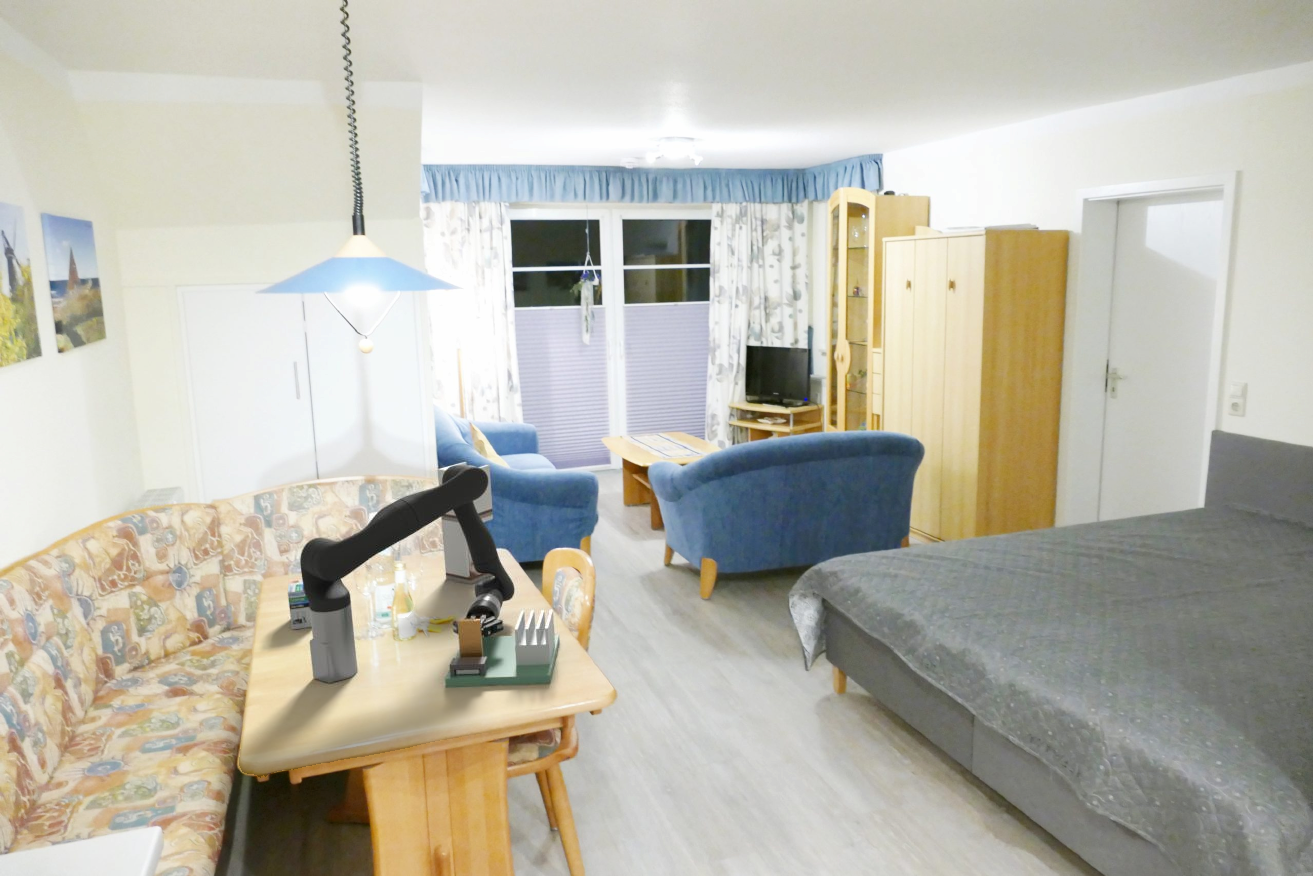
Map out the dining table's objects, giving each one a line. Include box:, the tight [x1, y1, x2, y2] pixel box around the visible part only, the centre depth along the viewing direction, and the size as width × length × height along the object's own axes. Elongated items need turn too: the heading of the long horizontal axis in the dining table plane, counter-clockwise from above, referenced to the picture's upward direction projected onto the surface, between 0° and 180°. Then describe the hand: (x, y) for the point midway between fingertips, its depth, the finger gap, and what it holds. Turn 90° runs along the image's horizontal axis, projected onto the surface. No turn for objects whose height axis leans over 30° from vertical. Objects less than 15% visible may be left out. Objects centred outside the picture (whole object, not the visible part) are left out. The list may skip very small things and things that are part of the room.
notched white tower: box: [437, 461, 494, 585], centre depth 283 cm, size 11×11×35 cm
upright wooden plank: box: [456, 618, 483, 674], centre depth 213 cm, size 6×5×11 cm
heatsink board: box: [444, 609, 561, 688], centre depth 220 cm, size 24×24×11 cm
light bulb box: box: [287, 579, 312, 630], centre depth 251 cm, size 11×7×11 cm, turn 19°
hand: (471, 640), depth 216 cm, fingers closed
